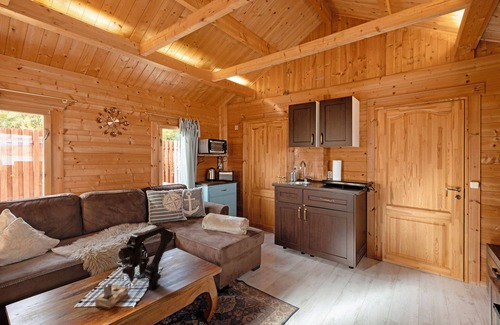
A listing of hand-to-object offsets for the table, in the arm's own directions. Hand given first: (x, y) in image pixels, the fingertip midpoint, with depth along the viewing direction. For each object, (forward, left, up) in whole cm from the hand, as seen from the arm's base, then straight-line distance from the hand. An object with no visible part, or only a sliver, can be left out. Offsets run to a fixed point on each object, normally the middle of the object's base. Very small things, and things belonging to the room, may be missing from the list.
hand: (136, 277), depth 155 cm
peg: (+10, -12, -11) cm, 19 cm away
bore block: (+7, -12, -12) cm, 18 cm away
